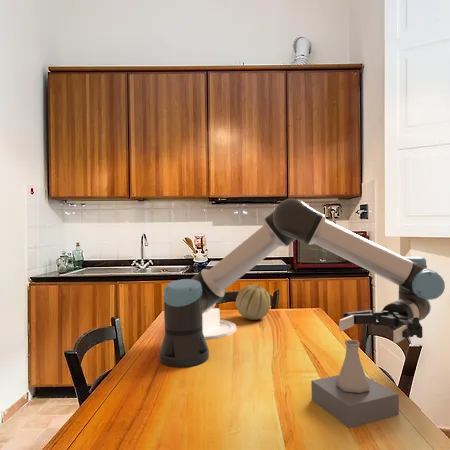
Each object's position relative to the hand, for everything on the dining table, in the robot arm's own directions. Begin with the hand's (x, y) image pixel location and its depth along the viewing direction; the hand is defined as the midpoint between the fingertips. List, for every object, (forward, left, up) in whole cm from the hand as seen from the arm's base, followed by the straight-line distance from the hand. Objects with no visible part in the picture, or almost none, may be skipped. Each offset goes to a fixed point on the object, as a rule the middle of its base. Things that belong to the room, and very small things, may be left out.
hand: (366, 330), depth 90 cm
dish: (-27, +64, -15) cm, 71 cm away
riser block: (-8, -6, -15) cm, 18 cm away
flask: (-8, -6, -10) cm, 14 cm away
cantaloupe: (-4, +72, -15) cm, 73 cm away
